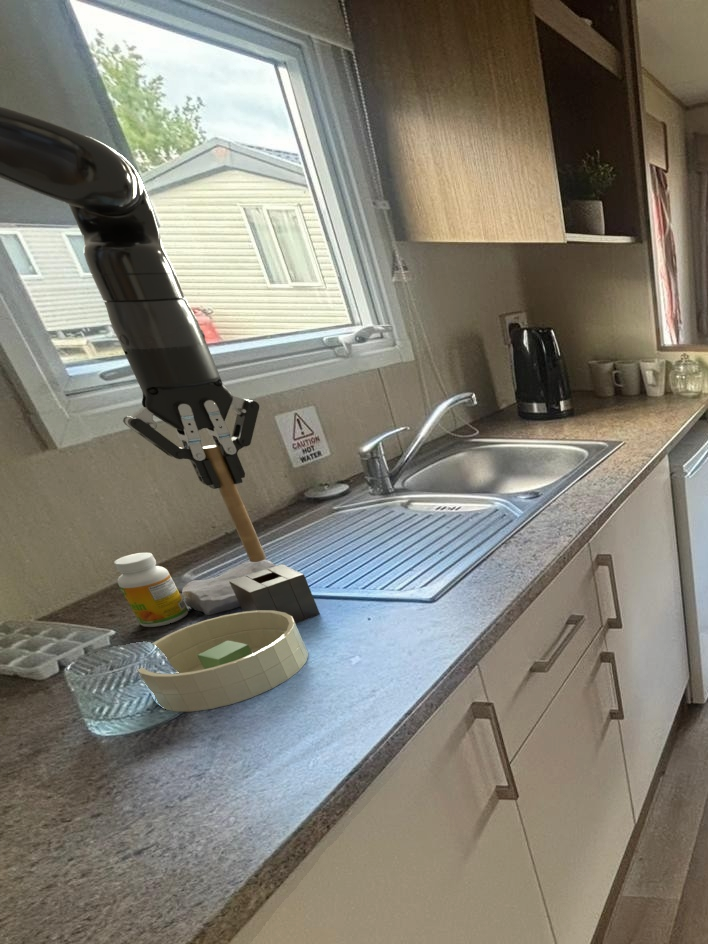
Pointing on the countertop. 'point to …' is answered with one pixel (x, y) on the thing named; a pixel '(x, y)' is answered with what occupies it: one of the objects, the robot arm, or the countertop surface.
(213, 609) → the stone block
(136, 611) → the supplement bottle
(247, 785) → the countertop surface
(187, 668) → the bowl
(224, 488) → the stirrer
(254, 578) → the holder
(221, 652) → the sage block
